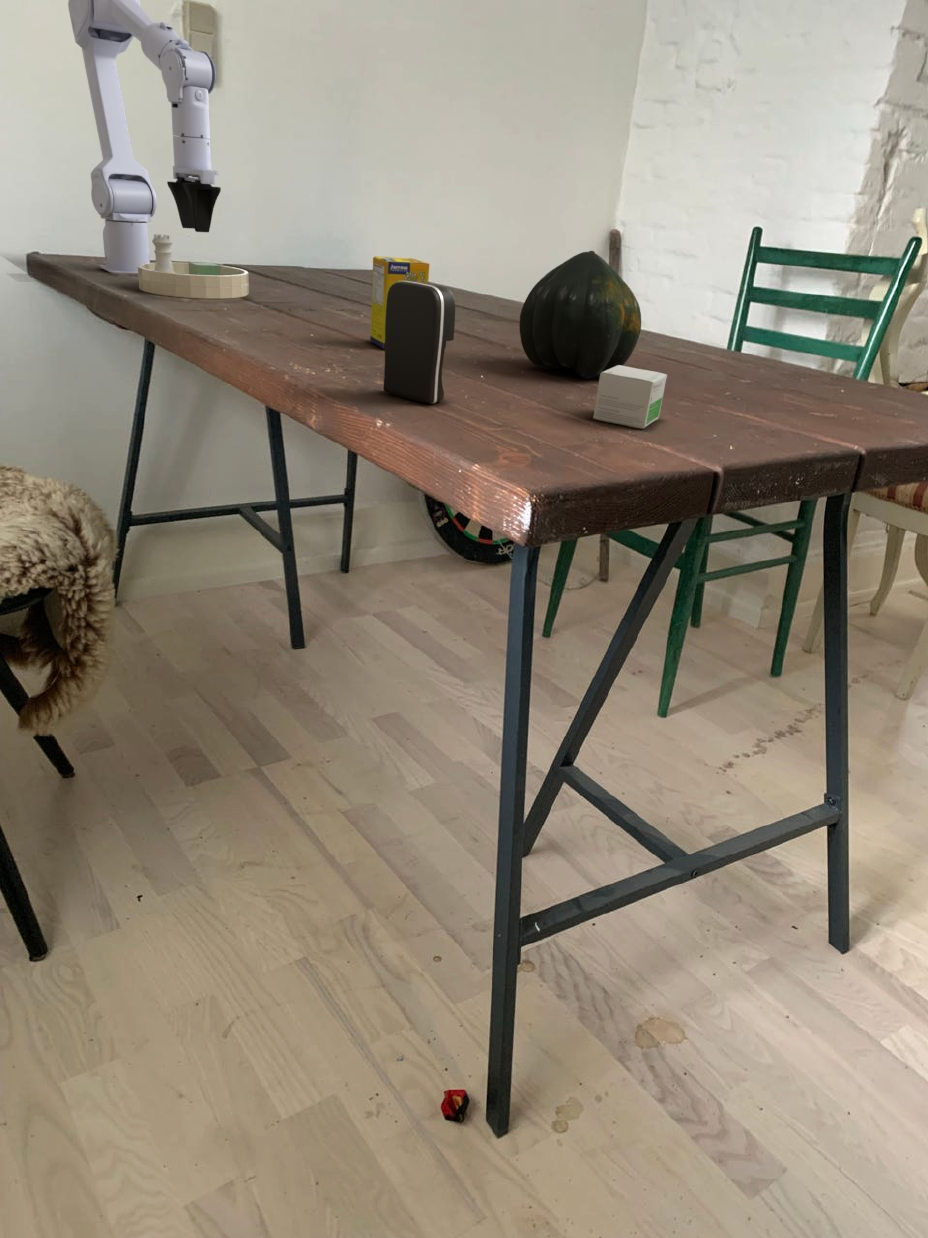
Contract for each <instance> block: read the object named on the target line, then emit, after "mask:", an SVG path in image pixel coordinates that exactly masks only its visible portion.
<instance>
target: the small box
mask: <svg viewBox="0 0 928 1238" xmlns="http://www.w3.org/2000/svg"><path fill="white" fill-rule="evenodd" d="M667 378H668V374H666V373H664V372H663V373H662V372H659V371H653V370H648V369H642V368H636V367H631V366H628V365H627V366H626V365H623V366H621V365H617V366H615V367H613V368H610V369H608V370H606V371H604V372H601V374H600V375H599V379H598V384H597V392H596V398H595V404H594V412H593V416H592V418H593V419H594V420H596V421H601V422H605V423H611V424H617V425H621V426H625V427H630V428H635V429H641V430H644V429H645V428H646V427H648V426H649V425H651V424H652V423H654V422H655V421H657V420H659V417H660V414H661V408H662V403H663V398H664V394H665V387H666V383H667Z"/></svg>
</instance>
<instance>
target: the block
mask: <svg viewBox="0 0 928 1238" xmlns="http://www.w3.org/2000/svg"><path fill="white" fill-rule="evenodd" d="M188 263H189V275H215V276H221V270H220V266H221V264H220V265H219V264H217V263H214V262H208V261H207V262H202V261H201V262H200V261H188Z"/></svg>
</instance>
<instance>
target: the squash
mask: <svg viewBox="0 0 928 1238" xmlns="http://www.w3.org/2000/svg"><path fill="white" fill-rule="evenodd" d="M641 331H642V313H641V307H640V304H639V302H638V299H637V297H636V296H635V294H634V292H633V291H632V289H631V288H630V286H629V285H628V284H627V283H626V282H625V280H623V278H622V277H621V276H620V275H619V273H617V272H616V271H615V269H614V268H613V267H612V266H610V265H609V263H608V262H607V261H606V260H605V259H603V257H601V256H600V254H597V253H596V252H595V251H594V250H589V251H582V252H580V253H578V254H575V255H573V256H572V257H570V258H569V259H566V260H565V261H564V262H562V263H561V264H559V265H557V266H556V267H554V268H553V269H551V270H550V271H548V272H547V273H546V274H544V276H543V277H541V279H539V280H538V282H536V283H535V284H534V286H533V287H532V288H531V290H530V291H529V293H528V294H527V296H526V298H525V300H524V302H523V305H522V308H521V310H520V313H519V336H520V343H521V347H522V349H523V352H524V353H525V355H526V357H527V359H528V360H529V361H530V362H531V363H532V364H533V365H534V366H535V367H538V368H539V369H542V370H546V371H553V370H554V371H555V370H558V369H560V368H562V367H564V368H568V369H570V368H573V367H574V370H575V372H576V375H578V376H580V377H581V378H583V379H586V380H588V379H593V378H594V377H596V376H600V374H601V372H604V371H606V370H608V369H610V368H613V367H615V366H617V365H621V366H625V364H626V363H627V361H628V360H629V359H630V357H631V356H632V354H633V352H634V351H635V348H636V346H637V343H638V341H639V339H640V338H639V337H640V334H641Z"/></svg>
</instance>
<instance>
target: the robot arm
mask: <svg viewBox="0 0 928 1238" xmlns="http://www.w3.org/2000/svg"><path fill="white" fill-rule="evenodd" d="M67 6H68V12H69V17H70V23H71V28H72V33H73V37H74V41H75V43H76V44H77V46H79V47H80V48H81V53H82V57H83V63H84V69H85V73H86V78H87V84H88V89H89V94H90V95H89V96H90V99H91V105H92V109H93V115H94V119H95V126H96V130H97V134H98V142H99V146H100V151H101V158H102V161H100V162H99V163H98V164H97V165H96V166H95V167H94V168H93V170H92V171H91V172H90V180H91V192H90V193H91V194H90V195H91V202H92V205H93V207H94V210H95V211H96V213H97V214H98V215H99V216H100V219H103V220H104V227H103V229H102V242H103V253H104V264H100V265H99V268H100V269H102V270H104V271H106V272H108V273H110V274H138V265H140V264H144V263H151V260H150V243H149V230H148V229H149V227H148V222H149V223H150V222H151V221H152V217H154V215H155V213H156V211H157V206H158V200H157V194H156V191H155V189H154V187H153V185H152V183H151V179H150V173H149V172H148V170H147V169H146V168H145V167H143V166H142V165H141V164H140V163H139V162H138V161H137V160H136V159H135V158H134V153H133V148H132V142H131V136H130V131H129V125H128V121H127V116H126V109H125V104H124V98H123V94H122V93H123V92H122V87H121V83H120V78H119V71H118V66H117V61H116V60H117V57H118V55H119V54H122V53H124V52H126V51H127V49H128V47H129V46H130V44H131V43H132V41H133V39H134V38H135V39H136V40H138V41H139V42H140V46H141V51H142V53H143V54H144V56H145V57H146V58H147V59H148V60H149V61H150V62H151V63H152V64H153V65H154V66H155V67H156V68H157V69H158V70H159V71H160V72H161V77H162V80H163V83H164V85H165V90H166V98H167V100H168V102H169V103H170V107H171V109H170V110H171V126H172V146H173V147H172V148H173V165H172V177H173V179H174V180H175V181H167V182H166V184H167V187H168V188H169V190H170V192H171V195H172V197H173V199H174V202H175V204H176V208H177V213H178V216H179V220H180V224H181V227H182V229H193V230H194V231H195V232H196V233H210V229H211V224H212V218H213V214H214V209H215V206H216V202H217V199H218V198H219V195H220V194H221V190H222V188H221V187H220V186H215V185H216V180H215V179H216V178H215V177H216V176H219V170H216V169H212V158H211V157H212V156H211V155H212V154H211V126H210V125H211V124H210V99H209V97H210V96H209V94H211V93H212V92H213V90H214V88H215V85H216V79H217V72H216V66H215V63H214V60H213V59H212V57H211V56H210V54H209V53H208V51H205V50H199V51H196V50H194V49H193V48H192V47H191V46H190V43H189V42H188V40H186V39H183V38H181V37H180V36H179V35H178V34H177V33H176V32H175V31H174V26H173V25H172V24H171V23H170V22H164V21H161V22H154V20H152V18H151V17H150V16H149V15H148V13H146V11H145V10H144V9H143V8H142V5H141V0H68V1H67ZM213 185H214V186H213Z"/></svg>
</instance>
